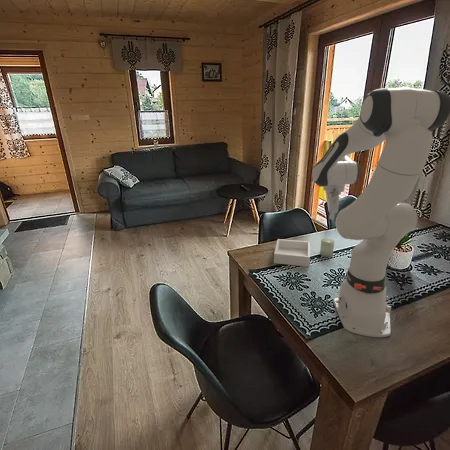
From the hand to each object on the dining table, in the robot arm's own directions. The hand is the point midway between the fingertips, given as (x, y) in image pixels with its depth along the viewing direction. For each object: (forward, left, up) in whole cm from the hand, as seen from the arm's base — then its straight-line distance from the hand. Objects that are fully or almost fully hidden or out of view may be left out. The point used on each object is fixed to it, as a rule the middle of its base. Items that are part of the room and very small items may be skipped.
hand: (330, 215), depth 133 cm
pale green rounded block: (0, 0, -20) cm, 20 cm away
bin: (-6, +16, -20) cm, 27 cm away
